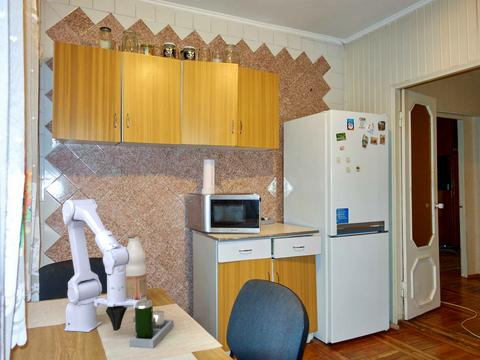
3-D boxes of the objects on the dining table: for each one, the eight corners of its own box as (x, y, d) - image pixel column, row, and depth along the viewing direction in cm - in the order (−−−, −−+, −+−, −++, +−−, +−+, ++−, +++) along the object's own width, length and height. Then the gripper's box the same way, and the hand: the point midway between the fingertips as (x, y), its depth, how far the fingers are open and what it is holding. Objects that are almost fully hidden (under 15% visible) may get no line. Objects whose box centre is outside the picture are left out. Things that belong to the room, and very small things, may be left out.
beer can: (138, 346, 111) (138, 306, 111) (133, 340, 115) (132, 301, 115) (155, 341, 114) (155, 302, 114) (149, 336, 118) (149, 298, 118)
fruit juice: (123, 307, 146) (122, 237, 146) (122, 300, 155) (122, 234, 155) (147, 304, 149) (147, 235, 149) (145, 298, 158) (144, 233, 158)
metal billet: (146, 333, 120) (146, 315, 120) (152, 327, 125) (152, 310, 125) (160, 334, 119) (160, 316, 119) (166, 328, 124) (166, 310, 124)
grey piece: (129, 346, 110) (129, 339, 110) (152, 325, 127) (152, 318, 127) (153, 348, 109) (153, 340, 109) (173, 326, 126) (173, 320, 126)
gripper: (88, 289, 114) (88, 333, 113) (132, 291, 111) (132, 336, 111) (101, 282, 121) (101, 324, 120) (142, 284, 118) (142, 327, 118)
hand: (117, 329), depth 116 cm, fingers closed
